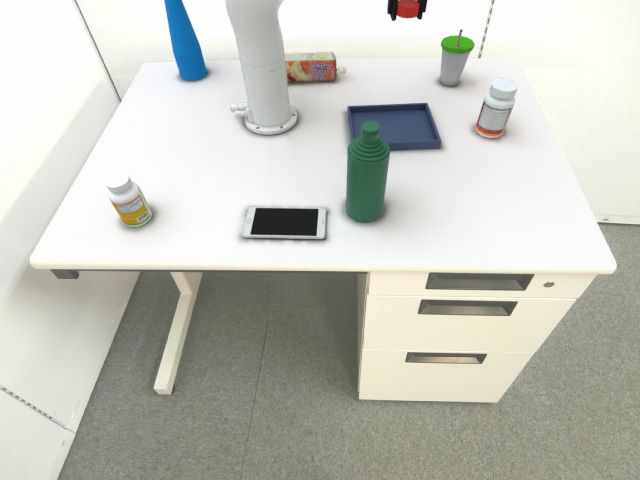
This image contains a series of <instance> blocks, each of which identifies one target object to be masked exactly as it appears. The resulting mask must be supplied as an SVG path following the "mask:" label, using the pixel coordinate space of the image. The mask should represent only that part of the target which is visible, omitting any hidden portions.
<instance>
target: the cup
mask: <svg viewBox="0 0 640 480" xmlns="http://www.w3.org/2000/svg"><path fill="white" fill-rule="evenodd" d="M462 34H463V29H459V32H458V35H449V36H445V37H444V38H442V40H441V42H440V47H441V58H440V59H441V60H440V75H439V83H440V85H442V86H444V87H448V88H453V87H456V86H458V84H459V82H460V79H461V77H462V74H463V72H464V69H465V67H466V65H467V62H468V59H469V57H470V54H471V52H472V51H473V50H474V48H475V46H476V45H475V42H474V40H473V39H471V38H469V37H467V36H462Z"/></svg>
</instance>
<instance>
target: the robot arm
mask: <svg viewBox="0 0 640 480" xmlns="http://www.w3.org/2000/svg"><path fill="white" fill-rule="evenodd" d="M284 1H285V0H225V1H224V2H225V8H226V13H227V15H228V19H229V22H230V25H231V28H232V30H233V34H234V38H235V42H236V48H237V52H238V56H239V57H238V58H239V61H240V67H241V72H242V77H243V83H244V89H245V93H246V94H245V95H246V100H247V101H244V102H243V103H230V111H231V113H234V117H235V118H240V117H244V123H245V126H246V128H247V129H248V130H249V131H251V132H253V133H254V134H258V135H265V136H269V135H270V136H272V135H278V134H283V133H285V132H287V131H289V130H290V129H292V128H293V127H295V125H296V124H297V122H298V112H297V109H295V107H293V106H292V105H291V104H290V94H289V93H290V92H289V84H288V83H289V82H287V73H286V63H285V45H284V44H285V43H284V38H283V33H282V29H281V25H280V21H279V9H280V7H281V5H282V4H283V2H284ZM416 1H418V2H419V3H420V6H419V12H418V16H417V17H416V19H417V20H419V21H420V20H423V13H427V12H426V11H427V6H428V0H416ZM386 7H387V9H386V11H387V12H386V13H387V15H389V17H390V19H391V21H392V22H395V21H396V20H397V17H398V16H397V7H398V0H387V6H386Z"/></svg>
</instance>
